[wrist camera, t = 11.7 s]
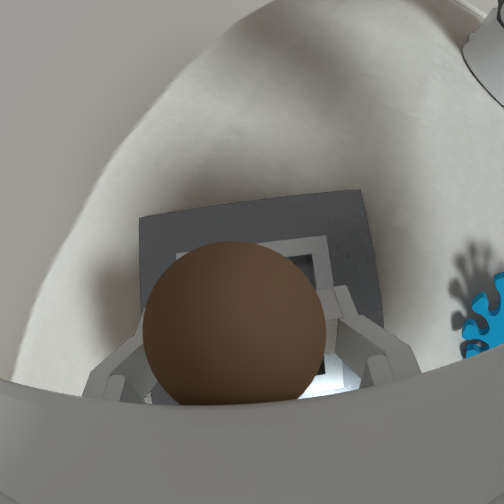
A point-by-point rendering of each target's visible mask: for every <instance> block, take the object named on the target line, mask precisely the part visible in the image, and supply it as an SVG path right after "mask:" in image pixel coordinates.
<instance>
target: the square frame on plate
mask: <svg viewBox="0 0 504 504" xmlns="http://www.w3.org/2000/svg"><path fill="white" fill-rule="evenodd" d="M221 241H244V242H250V243H255V244H259V245H261V246H264V247H267V248H270V249H272V250H274V251H276V252H278V253H280V254H281V255H283V256H284V257H286V258H287V259H289V260H290V261H291V262H292V263H294V264H295V265H296V266H297V267H298V268H299V269H300V270H301V271H302V272H303V273H304V275H305V276H306V277H307V278H308V280H309V281H310V283H311V284H312V286H313V287H314V289H315V290H316V289H323V288H330V287H335V286H341V285H346V286H347V288H348V290H349V293H350V295H351V298H352V300H353V303H354V305H355V308H356V310H357V313H358V315H363V316H365V317H366V318H368V319H369V320H371V321H372V322H374V323H375V324H377V325H379V326H380V327H382V328H383V329H384V322H383V313H382V305H381V297H380V289H379V282H378V276H377V269H376V263H375V257H374V252H373V246H372V241H371V236H370V231H369V226H368V221H367V216H366V212H365V207H364V203H363V198H362V194H361V190H348V191H337V192H326V193H316V194H306V195H297V196H287V197H279V198H270V199H262V200H254V201H246V202H239V203H231V204H224V205H217V206H210V207H203V208H197V209H190V210H184V211H178V212H171V213H165V214H159V215H154V216H148V217H142V218H139V266H140V291H141V308H142V314H143V311H144V308H145V307H146V304H147V301H148V298H149V295H150V293H151V291H152V289H153V287H154V285H155V284H156V282H157V281H158V279H159V278H160V276H161V275H162V274H163V273H164V272H165V271H166V269H167V268H168V267H169V266H170V265H171V264H173V263H174V262H175V261H176V260H177V259H179V258H180V257H182V256H183V255H185V254H186V253H188V252H190V251H192V250H194V249H196V248H198V247H201V246H204V245H207V244H211V243H216V242H221ZM360 382H361V378H360V377H358V376H357V375H356V374H355V373H354V372H353V371H352V370H351V369H350V368H349V367H348V366H347V365H346V364H345V363H344V362H343V361H342V360H341V359H340V358H339V357H338V356H337V355H336V354H335V353H331V354H324V355H323V359H322V362H321V365H320V367H319V370H318V372H317V374H316V376H315V378H314V379H313V381H312V383H311V384H310V385H309V387H308V388H307V389H306V391H305V392H304V393H303V394H302V395H301V396H300V397H299V398H298V399H303V398H310V397H317V396H323V395H329V394H335V393H341V392H346V391H351V390H356V389H359V386H360ZM151 397H152V403H153V404H158V405H180V404H179V403H178V402H176V401H175V400H174V399H173V398H172V397H171V396H170V395H169V394H168V393H167V392H166V391H165V390H164V389H163V387H162V386H161V385H160V384H159V382H157V383H156V385H155V386H154V387H153V388H152V390H151Z"/></svg>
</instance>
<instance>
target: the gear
mask: <svg viewBox="0 0 504 504" xmlns="http://www.w3.org/2000/svg"><path fill="white" fill-rule="evenodd" d="M494 283H495V286H496V289H497V290H498V292H499V294H500V299H499V305H498V307H497V308H496V309H495V310H489V309H488V304H489V303H488V298H487V295H486V293H484V292H480V293H479V294H478V295H476V296H475V297H474V299H473V300H472V309H473V311H474V312H476V313H478V314H480V315H482V316H483V317H485V319H486V320H487V322H488V324H489V325H488V326H487V327H486V328H485V329H480V328H478V326H477V324H476V322H475V321H474V320H473V319H467V320H466V322H465V324H464V326H463V329H462V337H463V338H464V339H466V340H469V339H479V340H482V341H484V342H486V343H487V345H486V346H485V347H479V346H477V345H476V344H468V345H467V347H466V358H469V357H471V356H474V355H476V354H479V353H481V352H484V351H486V350H489V349H491V348H493V347H496V346H498V345H500V344H502V343H504V272H501V273H498V274H496V275H495V276H494Z"/></svg>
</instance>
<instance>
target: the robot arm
mask: <svg viewBox="0 0 504 504" xmlns="http://www.w3.org/2000/svg"><path fill="white" fill-rule="evenodd" d="M498 3H499V4H498V7H497V8H493V9H492V10H491V12H490V13H489V14H488V16H487V17H486V18H485V20H484V21H483V23H482V24H481V25H480V27H479V28H478V30H477V31H476V32H475V33H474V32H471V34H470V35H469V41H468V42H467V43H466V44H465V45H464V46H463V55H464V58H465V60H466V62H467V64H468V65H469V67H470V69H471V70H472V72H473V73H474V74H475V76H476V77H477V78H478V79H479V81H480V82H481V83H482V84H483V85H484V87H485V88H486V89H487V90H488V91H489V92H490V93H491V94H492V95H493V96H494V97H495V98H496V99H497V100H498V101H499V102H500V103H501V104H502V105H503V106H504V0H498ZM315 291H316V293H317V295H318V297H319V299H320V302H321V305H322V308H323V311H324V317H325V322H326V344H325V351H324V354H331V353H335V354H336V355H337V356H338V357H339V358H340V359H341V360H342V361H343V362H344V363H345V364H346V365H347V366H348V367H349V368H350V369H351V370H352V371H353V372H354V373H355V374H356V375H357V376H358V377H360V378H361V382H360V386H359V389H356V390H351V391H346V392H341V393H335V394H329V395H323V396H317V397H310V398H303V399H295V400H286V401H277V402H266V403H254V404H237V405H158V404H146V403H145V402H144V401H143V400H144V398H145V397H146V396H147V395H148V393H149V392H150V391H151V390H152V388H153V387H154V386H155V385H156V383H157V382H158V381H157V379H156V377H155V376H154V374H153V372H152V370H151V368H150V365H149V363H148V360H147V357H146V354H145V350H144V344H143V331H142V326H143V316H144V312H145V308H144V311H143V314H142V316H141V319H140V322H139V325H138V327H137V330H136V333H135V336H132V337H130V338H129V339H128V340H126V341H125V342H124V343H123V344H122V345H121V346H120V347H118V348H117V349H116V350H115V351H114V352H113V353H112V354H110V355H109V356H108V357H107V358H106V359H105V360H104V361H102V362H101V363H100V364H99V365H98V366H97V367H96V368H95V369H93V370H92V371H91V372H90V375H89V378H88V380H87V383H86V386H85V388H84V391H83V394H82V397H80V396H74V395H68V394H63V393H58V392H53V391H48V390H43V389H39V388H34V387H30V386H26V385H22V384H18V383H14V382H11V381H7V380H3V379H0V504H504V343H502V344H500V345H498V346H496V347H493V348H491V349H489V350H486V351H484V352H481V353H479V354H476V355H474V356H471V357H469V358H466V359H463V360H460V361H458V362H455V363H452V364H449V365H446V366H443V367H440V368H437V369H434V370H431V371H428V372H424V373H422V372H421V370H420V368H419V365H418V363H417V361H416V358H415V356H414V354H413V352H412V349H411V347H410V346H409V345H407V344H406V343H404V342H403V341H401V340H400V339H398V338H397V337H395V336H394V335H392V334H391V333H389V332H388V331H386V330H385V329H383V328H382V327H380V326H379V325H377V324H375V323H374V322H372V321H371V320H369V319H368V318H366V317H365V316H363V315H358V313H357V310H356V308H355V305H354V303H353V300H352V298H351V295H350V293H349V290H348V288H347V286H346V285H341V286H335V287H330V288H323V289H316V290H315Z"/></svg>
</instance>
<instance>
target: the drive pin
mask: <svg viewBox="0 0 504 504" xmlns="http://www.w3.org/2000/svg"><path fill="white" fill-rule="evenodd" d="M142 331H143V344H144V350H145V354H146V357H147V360H148V363H149V365H150V368H151V370H152V372H153V374H154V376H155V377H156V379H157V381H158V382H159V384H160V385H161V386H162V387H163V389H164V390H165V391H166V392H167V393H168V394H169V395H170V396H171V397H172V398H173V399H174V400H175V401H176V402H178V403H179V404H180V405H237V404H254V403H266V402H277V401H286V400H295V399H298V398H299V397H300V396H301V395H302V394H303V393H304V392H305V391H306V389H307V388H308V387H309V385H310V384H311V383H312V381H313V379H314V378H315V376H316V374H317V372H318V370H319V367H320V365H321V362H322V359H323V355H324V351H325V344H326V322H325V317H324V311H323V308H322V305H321V302H320V299H319V297H318V295H317V293H316V291H315V289H314V287H313V286H312V284H311V283H310V281H309V280H308V278H307V277H306V276H305V275H304V273H303V272H302V271H301V270H300V269H299V268H298V267H297V266H296V265H295V264H294V263H292V262H291V261H290V260H289V259H287V258H286V257H284V256H283V255H281V254H280V253H278V252H276V251H274V250H272V249H270V248H267V247H264V246H261V245H259V244H255V243H250V242H244V241H221V242H216V243H211V244H207V245H204V246H201V247H198V248H196V249H194V250H192V251H190V252H188V253H186V254H185V255H183V256H182V257H180V258H179V259H177V260H176V261H175V262H174V263H173V264H171V265H170V266H169V267H168V268H167V269H166V271H165V272H164V273H163V274H162V275H161V276H160V278H159V279H158V281H157V282H156V284H155V285H154V287H153V289H152V291H151V293H150V295H149V298H148V301H147V304H146V307H145V312H144V316H143V326H142Z"/></svg>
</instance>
